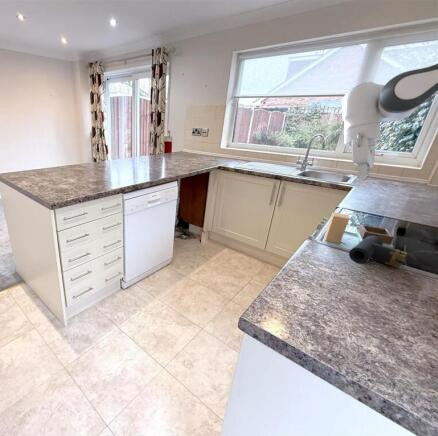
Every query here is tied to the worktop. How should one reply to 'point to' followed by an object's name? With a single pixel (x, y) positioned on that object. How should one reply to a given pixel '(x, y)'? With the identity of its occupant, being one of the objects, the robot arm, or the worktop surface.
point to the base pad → (375, 234)
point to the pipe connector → (376, 252)
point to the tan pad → (336, 227)
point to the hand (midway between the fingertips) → (364, 179)
